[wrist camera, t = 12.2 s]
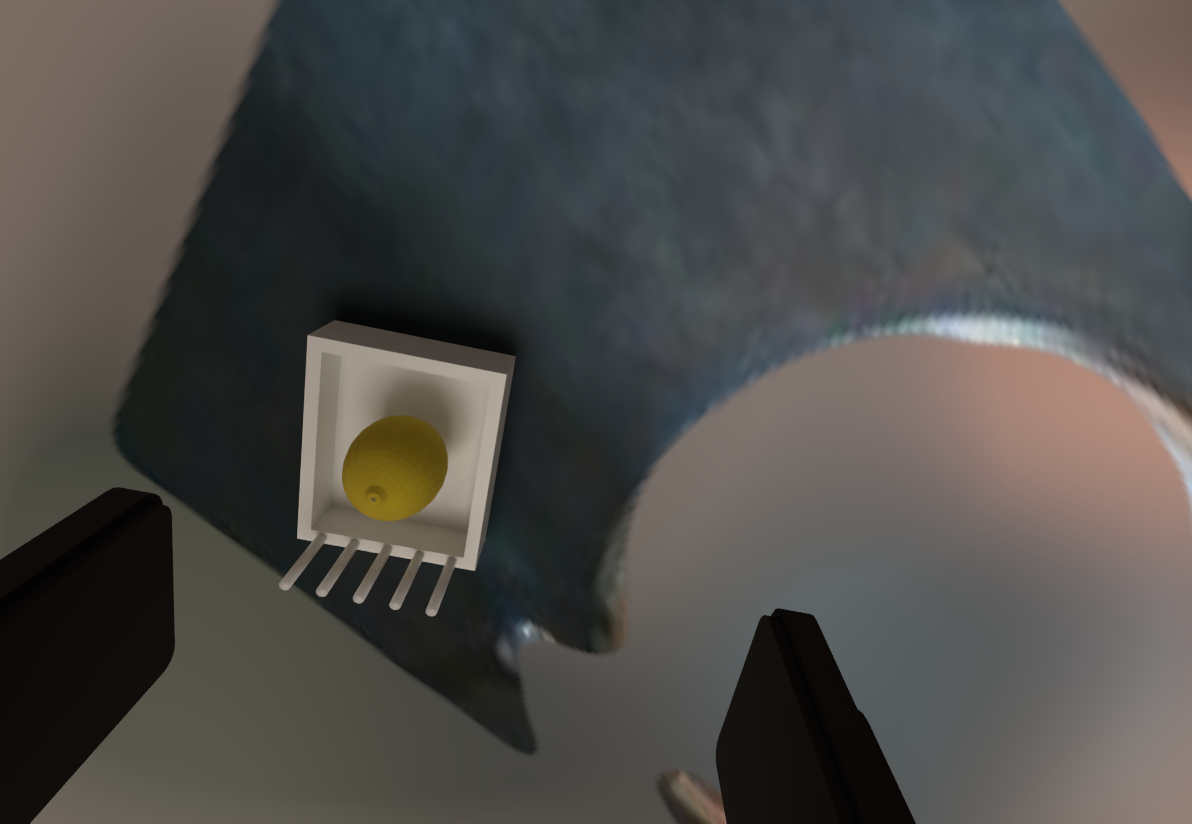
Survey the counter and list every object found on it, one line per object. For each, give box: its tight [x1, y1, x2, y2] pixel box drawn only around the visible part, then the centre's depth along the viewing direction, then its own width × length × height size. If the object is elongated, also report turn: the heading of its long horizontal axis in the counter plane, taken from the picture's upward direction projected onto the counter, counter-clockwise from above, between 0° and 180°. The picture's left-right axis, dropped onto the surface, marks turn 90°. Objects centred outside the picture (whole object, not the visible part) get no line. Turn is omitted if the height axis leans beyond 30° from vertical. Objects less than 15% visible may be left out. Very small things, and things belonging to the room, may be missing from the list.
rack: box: [279, 320, 516, 616], centre depth 38 cm, size 13×11×9 cm
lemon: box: [342, 415, 448, 521], centre depth 38 cm, size 6×6×8 cm
